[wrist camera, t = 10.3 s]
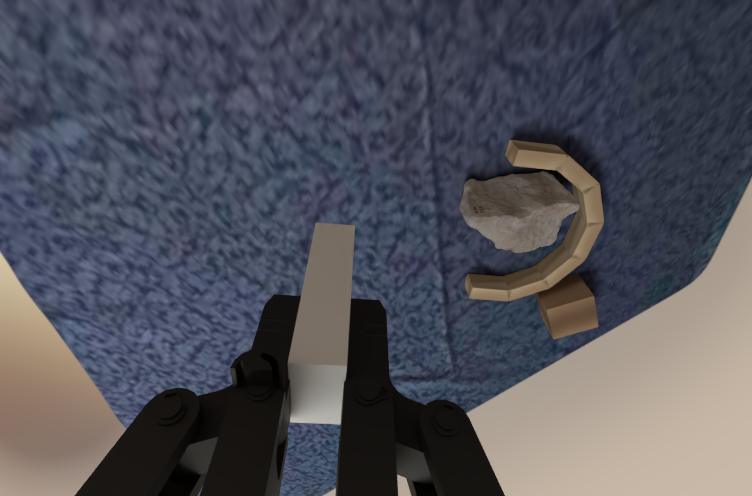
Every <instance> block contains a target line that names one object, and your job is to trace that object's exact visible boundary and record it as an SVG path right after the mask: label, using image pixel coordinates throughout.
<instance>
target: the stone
mask: <svg viewBox="0 0 752 496" xmlns="http://www.w3.org/2000/svg"><path fill="white" fill-rule="evenodd" d="M579 207H580V203H579V202H578V200H577V199H576V198H575V197H574V196H573V195H572V194H571V193H570V192H569V191H568V190H566V189H565V188H564V186H563V185H562V184H560V183H559V181H558V180H556V179H555V177H554V176H553V175H552V174H549V173H548V172H545V171H541V172H539V173H531V174H516V175H515V174H513V173H512V174H510V175H508V176H504V177H500V176H498V177H496V178H493V179H489V180H487V181H477V180H475V179H469V180H468V181H466V183H465V184H464V192H463V195H462V199H461V205H460V211H461V213H463V217H464V219H465V221H466V223H467V224H468V225H469V226H470V227H472V228H474V229H477V230H478V231H479V232H480V233H481V234H482V235H483V236H485V237H486V238H489V239H490V240H492V241H493V242H494V243H495V247H496V248H497V249H503V250H512V251H513V252H515V253H522V252H528V251H531V250H535V249H537V248H538V247H543V246H549V245H551V244H552V243H553V242H554V241H555V240H556V239H557V232H558V231H559V229H560V225H561V222H562V220H563V219H565V218H566V217H567V216H568V215H569V214H572V213H574V212H576V211H578V210H579Z"/></svg>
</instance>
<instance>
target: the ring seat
mask: <svg viewBox="0 0 752 496" xmlns="http://www.w3.org/2000/svg"><path fill="white" fill-rule="evenodd" d="M505 156H506V157H507V159H508V160H509V161H510V162H511V164H512V165H513V166H520V167H529V168H538V169H547V170H557V171H558V172H560V173H561V174H562V175H563V176H564V177H565V178H566V179H568V180H569V181H570V182H571V183H572V188H573V194H574V197H575V198H576V199H577V200H578V202H579V203H580V207H579V210H578V211H576V215H575V217H574V219H573V221H572V223H571V226H570V228H569V230H568V232H567V234H566V236H565V239H564V241H563V243H562V244H561V245H559V246H558V247H557V248H556V249H555V250H554V251H552V252H551V253H550V254H549V255H548V256H546V257H545V258H544V259H543V260H542V261H540V262H539V263H538V264H537V265H536V266H533V267H530V268H527V269H524V270H521V271H518V272H515V273H512V274H508V275H505V276H491V275H479V274H467V277H466V281H465V287H466V290H467V293H468V296H469V298H472V299H485V300H498V301H508V300H509V301H511V300H514V299H518V298H521V297H524V296H527V295H530V294H533V293H537V292H540V291H543V290H546V289H549V287H550V288H551V287H552V286H554V285H555V284H556V283H557V282H559V281H560V280H561V279H562V278H564V277H565V276H566V275H567V274H569V273H570V272H571V271H572V270H574V269H575V268H576V267H578V266H579V265H580V264H581V263H583V262H584V260H585V259H586V257H587V255H588V254H589V252H590V250H591V248H592V246H593V244H594V242H595V240H596V238H597V236H598V234H599V232H600V230H601V228H602V226H603V224H604V223H603V222H604V218H603V209H602V200H601V192H600V184H599V183H598V182H597V181H596V180H595V179H594V178H593V177H592V176H591V175H590V174H589V173H587V172H586V171H585V170H584V169H583V168H582V167H581V166H580V165H579V164H578V163H576V162H575V161H574V160H573V159H572V158H571V157H570V156H569V155H568V154H566V153H565V152H564V151H563V150H562V149H561V148H559V147H558V146H556V145H552V144H543V143H534V142H526V141H517V140H510V141H509V144H508V147H507V151H506V154H505Z"/></svg>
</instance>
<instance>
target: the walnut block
mask: <svg viewBox="0 0 752 496" xmlns="http://www.w3.org/2000/svg"><path fill="white" fill-rule="evenodd" d="M536 297H537V301H538V305H539V309H540V313H541V317H542V319H543V320H544V322H545V324H546V326H547V328H548V330H549V332H550V334H551V336H552V338H553V339H557V338H561V337H564V336H568V335H571V334H575V333H578V332H582V331H585V330H589V329H592V328H596V327H598V320H597V313H596V306H595V299H594V295H593V294H592V292H591V291H590V290H589V288H588V287H587V285H586V284H585V283H584V281H583V280H582V279H581V277H580V276H579V274H575V275H571V276H568V277H565V278H562V279H561V280H560V281H559V282H557V283H556V284H555V285H554V286H552V287H551V288H550V287H549V289H546V290H543V291H540V292H537V293H536Z"/></svg>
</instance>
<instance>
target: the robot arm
mask: <svg viewBox="0 0 752 496" xmlns="http://www.w3.org/2000/svg"><path fill="white" fill-rule="evenodd" d="M354 232H355V226H353V225H340V224H327V223H316V225H315V230H314V235H313V240H312V245H311V250H310V255H309V260H308V265H307V270H306V275H305V280H304V285H303V290H302V294H301V296H290V295H275V294H274V295H273V297H272V298H271V299H270V300H269V301H268V302H267V303H266V304H265V306H264V309H263V312H262V316H261V320H260V322H259V326H258V330H257V332H256V336H255V339H254V342H253V346H252V349H251V350H250V351H247V352H245V353H243V354H241V355H240V356H239V357H238V358H237V359H235V360H234V362H233V364H232V366H231V367H230V371H231V377H232V382H233V384H232V385H230V386H229V387H227V388H225V389H222V390H219V391H216V392H212V393H208V394H203V395H199V396H196V394H195V393H194V392H192V391H190V390H188V389H184V388H174V389H170V390H166V391H164V392H162V393H160V394H158V395H156V396H155V397H154V398H153V399H152V400H150V401H149V402H148V403H147V404H146V405H145V407H144V408H143V409H142V411H141V412H140V413H139V414H138V416H137V417H136V418H135V419H134V421H133V422H132V423H131V425H130V426H129V427H128V428H127V430H126V431H125V432H124V434H123V435H122V436H121V437H120V439H119V440H118V441H117V442H116V444H115V445H114V446H113V448H112V449H111V450H110V451H109V453H108V454H107V455H106V456H105V458H104V459H103V460H102V462H101V463H100V464H99V465H98V467H97V468H96V469H95V471H94V472H93V473H92V474H91V476H90V477H89V478H88V480H87V481H86V482H85V483H84V484H83V486H82V487H81V488H80V490H79V491H78V492H77V494H76V495H75V496H197V495H198V493H199V492H200V490H201V488H202V486H203V488H202V491H201V494H200V496H279V493H280V487H281V481H282V475H283V469H284V463H285V457H286V451H287V445H288V433H287V432H288V427H289V421H290V422H297V423H320V424H340V439H339V450H338V467H337V482H336V496H398V486H397V474H398V475H400V476H403V477H405V478H407V482H408V485H409V489H410V492H411V495H412V496H505V495H504V493H503V491H502V489H501V486H500V484H499V482H498V480H497V478H496V476H495V473H494V471H493V470H492V467H491V465H490V463H489V461H488V458H487V456H486V454H485V452H484V450H483V447H482V445H481V443H480V441H479V439H478V437H477V434H476V432H475V430H474V428H473V426H472V424H471V421H470V419H469V417H468V416H467V415H466V413H465V412H464V410H463V409H462V408H460V407H459V406H458V405H457V404H455V403H453V402H450V401H447V400H434V401H432V402H429V403H428V404H427V405H424V404H421V403H418V402H416V401H413V400H410V399H408V398H406V397H404V396H403V395H401V394H400V393H399V392H398V391H397V390H396V389H395V388H394V386H393V385H392V383H391V380H390V376H389V361H388V339H387V318H386V311H385V309H384V307H383V305H382V304H381V302H380V300H366V299H351V286H352V268H353V250H354Z"/></svg>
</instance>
